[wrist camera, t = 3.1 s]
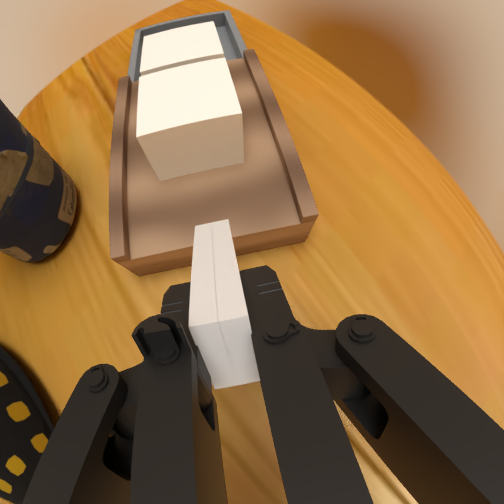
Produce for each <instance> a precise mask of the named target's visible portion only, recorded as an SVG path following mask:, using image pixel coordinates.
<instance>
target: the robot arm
mask: <svg viewBox="0 0 504 504" xmlns="http://www.w3.org/2000/svg"><path fill="white" fill-rule="evenodd" d="M132 337H133V339H134V341H135V343H136V344H137V346H138V348H139V350H140V351H141V353H142V355H143V357H144V361H143V362H142V363H140V364H138V365H136V366H134V367H132V368H129V369H126V370H124V371H121V372H118V371H117V370H116V368H115V367H114V366H112V365H109V364H99V365H96V366H93V367H91V368H90V369H89V370H87V371H86V372H85V373H84V374H83V376H82V377H81V378H80V380H79V382H78V384H77V385H76V387H75V389H74V391H73V393H72V395H71V397H70V398H69V400H68V402H67V404H66V406H65V408H64V410H63V412H62V414H61V416H60V418H59V420H58V422H57V424H56V426H55V428H54V430H53V432H52V434H51V436H50V438H49V441H48V443H47V445H46V447H45V449H44V452H43V454H42V456H41V458H40V461H39V463H38V465H37V468H36V470H35V472H34V475H33V477H32V480H31V482H30V485H29V487H28V490H27V492H26V495H25V498H24V500H23V503H22V504H228V500H227V493H226V486H225V478H224V470H223V462H222V453H221V444H220V435H219V425H218V415H217V404H216V401H215V398H214V396H213V394H212V385H211V382H212V384H213V386H214V389H220V388H226V387H231V386H237V385H242V384H247V383H252V382H257V381H260V382H261V387H262V391H263V396H264V401H265V405H266V410H267V414H268V419H269V423H270V428H271V432H272V437H273V441H274V446H275V450H276V454H277V459H278V463H279V467H280V472H281V476H282V480H283V484H284V489H285V493H286V497H287V501H288V504H373V501H372V498H371V496H370V493H369V490H368V488H367V485H366V482H365V480H364V477H363V475H362V472H361V469H360V467H359V464H358V462H357V459H356V457H355V454H354V451H353V449H352V446H351V444H350V441H349V439H348V436H347V434H346V431H345V429H344V426H343V424H342V421H341V419H340V416H339V414H338V411H337V409H336V406H335V404H334V401H335V402H336V403H337V404H338V406H339V407H340V408H341V410H342V411H343V412H344V413H345V415H346V416H347V417H348V418H349V420H350V421H351V422H352V423H353V425H354V426H355V427H356V428H357V430H358V431H359V432H360V433H361V435H362V436H363V437H364V438H365V440H366V441H367V442H368V443H369V445H370V446H371V447H372V448H373V449H374V451H375V452H376V453H377V454H378V456H379V457H380V458H381V459H382V460H383V462H384V463H385V464H386V465H387V467H388V468H389V469H390V470H391V471H392V473H393V474H394V475H395V476H396V477H397V479H398V480H399V481H400V482H401V483H402V485H403V486H404V487H405V488H406V489H407V490H408V492H409V493H410V494H411V495H412V496H413V497H414V499H415V500H416V501H417V502H418V503H419V504H504V430H503V429H502V428H501V427H500V426H499V425H498V424H497V423H496V422H495V421H494V420H493V419H491V418H490V417H489V416H488V415H487V414H486V413H485V412H484V411H483V410H482V409H481V408H480V407H479V406H478V405H477V404H475V403H474V402H473V401H472V400H471V399H470V398H469V397H468V396H467V395H466V394H465V393H463V392H462V391H461V390H460V389H459V388H458V387H457V386H456V385H455V384H454V383H452V382H451V381H450V380H449V379H448V378H447V377H446V376H445V375H443V374H442V373H441V372H440V371H439V370H438V369H437V368H436V367H434V366H433V365H432V364H431V363H430V362H429V361H428V360H427V359H425V358H424V357H423V356H422V355H421V354H420V353H419V352H417V351H416V350H415V349H414V348H413V347H412V346H410V345H409V344H408V343H407V342H406V341H405V340H404V339H402V338H401V337H400V336H399V335H398V334H397V333H395V332H394V331H393V330H392V329H391V328H389V327H388V326H387V325H386V324H385V323H384V322H382V321H381V320H379V319H378V318H376V317H374V316H370V315H366V314H359V315H353V316H350V317H346V318H345V319H344V320H342V321H341V322H340V323H339V325H338V327H337V328H336V330H314V329H310V328H307V327H305V326H303V325H301V324H300V323H299V322H298V321H297V320H296V319H295V318H294V316H293V314H292V311H291V309H290V306H289V304H288V301H287V299H286V297H285V294H284V292H283V289H282V287H281V284H280V282H279V280H278V277H277V275H276V272H275V271H274V270H272V269H271V268H270V267H268V266H267V265H265V266H261V267H256V268H251V269H246V270H242V271H239V269H238V264H237V259H236V254H235V249H234V244H233V240H232V235H231V230H230V225H229V220H228V219H226V220H221V221H216V222H212V223H207V224H202V225H197V226H195V233H194V244H193V257H192V271H191V282H188V283H183V284H178V285H172V286H170V287H169V289H168V290H167V291H166V293H165V294H164V297H163V302H162V308H161V314H158V315H155V316H152V317H149V318H147V319H146V320H144V321H142V322H141V323H140V324H139V325H138V326H137V327H136V328H135V329H134V331H133V333H132ZM333 400H334V401H333Z"/></svg>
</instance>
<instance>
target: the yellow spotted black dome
mask: <svg viewBox="0 0 504 504" xmlns="http://www.w3.org/2000/svg"><path fill="white" fill-rule="evenodd" d="M53 430H54V426H53V424H52V422H51V420H50V418H49V416H48V414H47V412H46V409H45V407H44V405H43V403H42V401H41V399H40V397H39V395H38V393H37V391H36V390H35V388H34V386H33V384H32V382H31V381H30V379H29V378H28V376H27V375H26V373H25V372H24V370H23V369H22V368H21V367H20V365H19V364H18V363H17V362H16V361H15V360H14V358H13V357H12V356H11V355H10V354H9V353H7V352H6V351H5V350H4V349H3V348H2V347H1V346H0V498H2V499H3V500H5V501H7V502H9V503H12V504H22V503H23V500H24V498H25V495H26V492H27V490H28V487H29V485H30V482H31V480H32V477H33V475H34V472H35V470H36V468H37V465H38V463H39V461H40V458H41V456H42V454H43V452H44V449H45V447H46V445H47V443H48V441H49V438H50V436H51V434H52V432H53Z"/></svg>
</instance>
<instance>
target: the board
mask: <svg viewBox="0 0 504 504" xmlns="http://www.w3.org/2000/svg"><path fill="white" fill-rule="evenodd" d="M226 62H227V65H228V68H229V71H230V74H231V78H232V81H233V84H234V87H235V91H236V94H237V97H238V101H239V104H240V107H241V111H242V119H243V142H244V163H241V164H235V165H230V166H225V167H220V168H215V169H211V170H206V171H201V172H197V173H192V174H188V175H184V176H179V177H175V178H171V179H167V180H163V181H159V179H158V177H157V175H156V174H155V172H154V170H153V168H152V166H151V164H150V162H149V161H148V159H147V157H146V155H145V153H144V151H143V149H142V147H141V145H140V144H139V142H138V140H137V138H136V127H137V103H138V88H139V80H138V81H135V82H132V81H131V79H130V76H129V75H128V76H125V77H122V78H119V84H118V90H117V97H116V104H115V112H114V121H113V131H112V143H111V157H110V177H109V235H110V256H111V259H112V260H114V261H115V262H117V263H118V264H120V265H122V266H123V267H125V268H126V269H128V270H130V271H131V272H133V273H135V274H136V275H138V276H143V275H147V274H152V273H157V272H162V271H166V270H171V269H176V268H181V267H185V266H190V265H192V257H193V244H194V233H195V226H197V225H202V224H207V223H212V222H216V221H221V220H226V219H228V220H229V225H230V230H231V235H232V240H233V244H234V249H235V254H236V256H238V255H242V254H247V253H252V252H257V251H261V250H266V249H271V248H276V247H280V246H285V245H290V244H294V243H299V242H304V241H305V240H306V239H307V237H308V235H309V233H310V231H311V229H312V227H313V225H314V223H315V221H316V219H317V217H318V215H319V213H318V210H317V207H316V204H315V201H314V198H313V195H312V192H311V189H310V187H309V184H308V181H307V178H306V175H305V172H304V170H303V167H302V164H301V161H300V159H299V156H298V153H297V151H296V148H295V145H294V143H293V140H292V137H291V135H290V132H289V130H288V127H287V125H286V122H285V120H284V117H283V115H282V112H281V110H280V107H279V105H278V103H277V100H276V98H275V96H274V93H273V91H272V89H271V86H270V84H269V82H268V79H267V77H266V75H265V73H264V70H263V68H262V66H261V64H260V62H259V59H258V57H257V55H256V53H255V51H254V49H250V50H243V58H240V59H233V60H226Z"/></svg>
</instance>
